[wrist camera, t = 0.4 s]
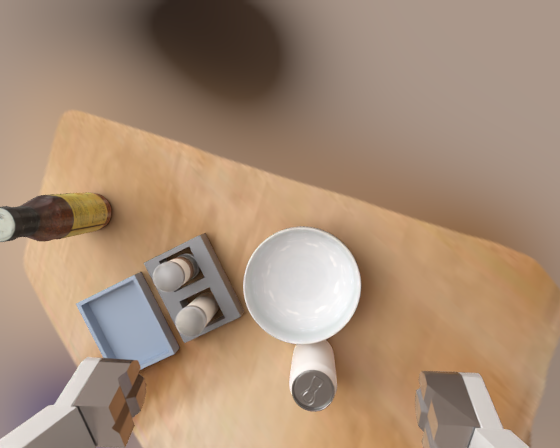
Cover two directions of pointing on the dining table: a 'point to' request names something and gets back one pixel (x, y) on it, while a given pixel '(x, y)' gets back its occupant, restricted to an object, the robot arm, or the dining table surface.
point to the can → (313, 375)
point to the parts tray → (128, 323)
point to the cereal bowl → (302, 285)
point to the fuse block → (203, 308)
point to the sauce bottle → (55, 217)
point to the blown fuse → (175, 272)
